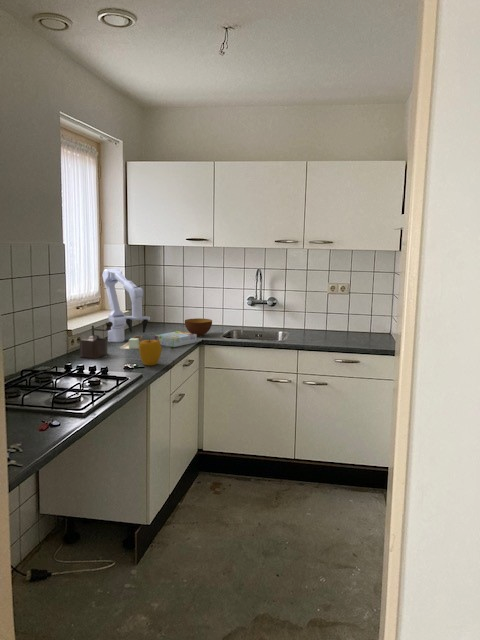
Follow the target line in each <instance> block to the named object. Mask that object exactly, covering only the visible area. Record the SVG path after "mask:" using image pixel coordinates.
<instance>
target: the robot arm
mask: <svg viewBox="0 0 480 640" xmlns="http://www.w3.org/2000/svg"><path fill="white" fill-rule="evenodd" d="M102 281H103V284H104V286H105V291H106V294H107V299H108V303H109V308H110V314H109V315H108V321H110V322H112V323H113V326H112V327H111V330H109V331H107V343H109V342H113V343H114V342H115V343H116V342H117V343H118V342H119V343H120V342H121V343H122V342H125V328H126V326H127V327H128V330H129V333H132V332H133V321H141V322H142V333H146V327H147V325H148V323H149V321H150V320H151V316H147V315H146V316H145V315H143V302H142V301H143V297H144V296H145V292H144V289H143V287H138V286H137V285H136V284H135V283H134V282H133V281H132V280H128V279H127V278H126V277H125V276H124V274H123V271H122V270H121V269H120V268H112V269H111V268H110V269H109V268H107V269H104V270H103V272H102ZM118 282H119V283H121V284H122V285H123V289H124V290H125V291H126V292H127V293H128V294H129V295H128V296H129V297H130V302H131V315H125V312H123V311H122V310H121V308H120V304H119V300H118V295H117V291H116V287H115V286H116V284H118Z"/></svg>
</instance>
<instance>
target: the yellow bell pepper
mask: <svg viewBox="0 0 480 640" xmlns="http://www.w3.org/2000/svg"><path fill="white" fill-rule="evenodd" d="M138 350H139V352H138V353H139V357H140V360H141V362H142V364H143V365H145V366H146V367H148V366H150V367H151V366H155V365H157V364H158V363H159V361H160V359H161V358H160V357H161V354H162V345H161V344H160V342H159V341H157V340H155V339H150V338H149V339H143V341H141V342H140V344H139V349H138Z"/></svg>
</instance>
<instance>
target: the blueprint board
mask: <svg viewBox="0 0 480 640" xmlns="http://www.w3.org/2000/svg"><path fill="white" fill-rule="evenodd" d="M119 349H125V350H126V349H127V350H128V349H129V350H130V349H131V350H132V348H129V341H127V342H126V343H124V344H123V345H122V346H120V347H119ZM137 350H139V347H138V348H137Z"/></svg>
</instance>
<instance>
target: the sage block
mask: <svg viewBox="0 0 480 640" xmlns="http://www.w3.org/2000/svg"><path fill="white" fill-rule="evenodd" d="M128 342H129V348H132V349H133V350H135V349H137V348H138V347H139V338H133V337H130V339H128ZM132 349H131V350H132ZM137 350H138V349H137Z"/></svg>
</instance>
